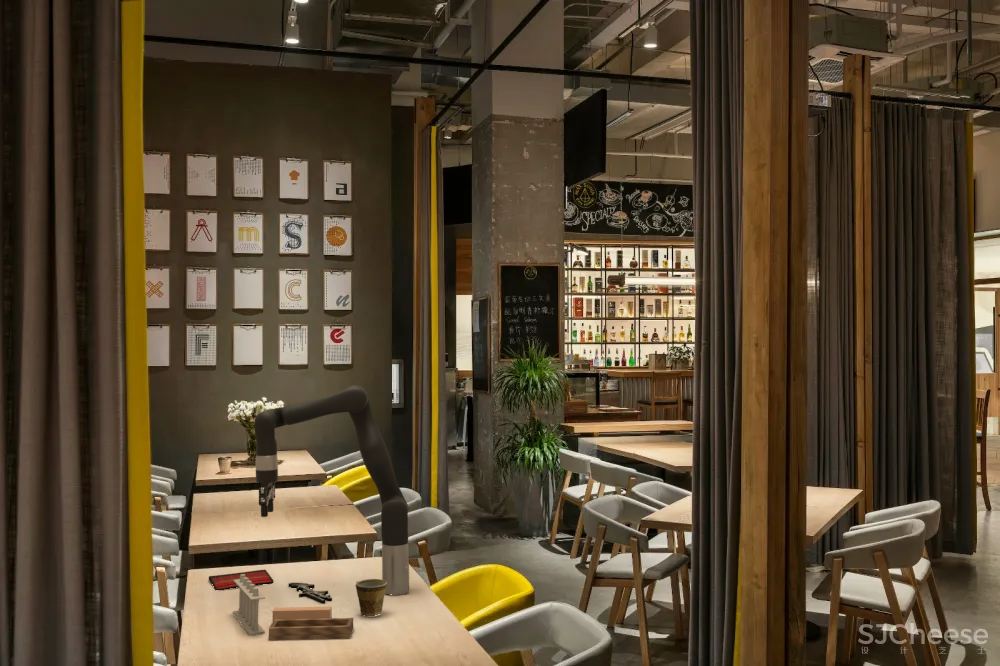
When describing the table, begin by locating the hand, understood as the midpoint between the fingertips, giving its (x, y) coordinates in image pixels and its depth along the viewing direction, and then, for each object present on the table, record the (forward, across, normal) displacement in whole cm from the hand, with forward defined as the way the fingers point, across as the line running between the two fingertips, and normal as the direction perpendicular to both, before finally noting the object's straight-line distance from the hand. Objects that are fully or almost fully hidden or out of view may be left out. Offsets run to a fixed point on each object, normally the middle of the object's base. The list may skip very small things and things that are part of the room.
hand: (267, 514), depth 309 cm
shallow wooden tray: (+28, -41, -23) cm, 55 cm away
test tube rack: (+29, -30, 0) cm, 41 cm away
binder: (+29, +18, +14) cm, 37 cm away
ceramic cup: (+29, -21, -37) cm, 52 cm away
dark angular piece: (+29, +2, -14) cm, 32 cm away
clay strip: (+29, -29, -18) cm, 45 cm away
